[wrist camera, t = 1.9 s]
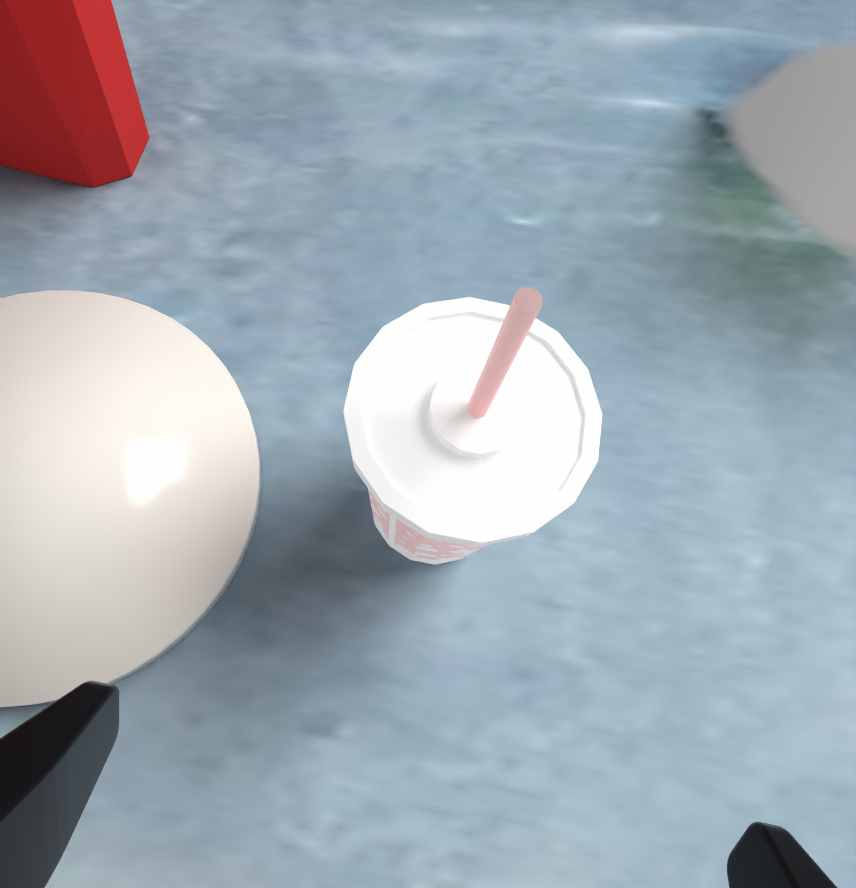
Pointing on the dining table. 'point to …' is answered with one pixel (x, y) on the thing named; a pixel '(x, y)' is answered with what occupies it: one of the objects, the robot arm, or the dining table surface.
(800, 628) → the dining table surface
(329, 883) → the dining table surface
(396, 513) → the beverage cup
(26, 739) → the robot arm
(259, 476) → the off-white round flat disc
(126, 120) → the french fries
